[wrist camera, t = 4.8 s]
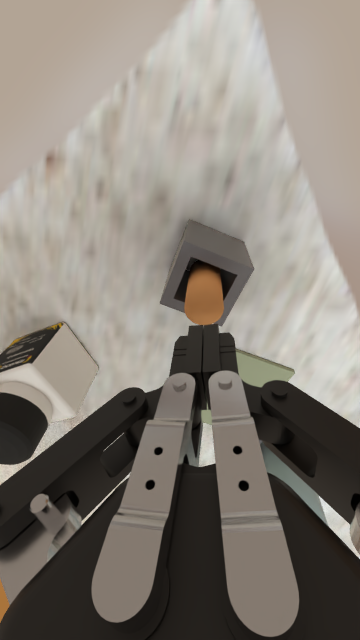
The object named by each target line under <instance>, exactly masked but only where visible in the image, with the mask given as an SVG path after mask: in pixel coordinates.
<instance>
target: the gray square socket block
mask: <svg viewBox="0 0 360 640" xmlns="http://www.w3.org/2000/svg"><path fill="white" fill-rule="evenodd" d="M191 257H194V258H196V259H199V260H201V261H204V262H206V263H209V264H211V265H214V266H216V267H219V268H221V269H220V273H221V283H222V293H223V303H224V311H223V314H222V316H221V318H220V319H219V320H218V321H216V322H215V323H214V324H218V325H219V326H222V325H223V323H224V322H225V320H226V318H227V316H228V314H229V313H230V311H231V309H232V307H233V306H234V304H235V302H236V300H237V299H238V297H239V295H240V293H241V291H242V290H243V288H244V286H245V284H246V283H247V281H248V279H249V277H250V276H251V274H252V272H253V270H254V267H253V264H252V262H251V259H250V256H249V254H248V251H247V248H246V246H245V243H244V242H243V241H241V240H238V239H236V238H233V237H231V236H229V235H226V234H224V233H221V232H219V231H216V230H214V229H212V228H209V227H207V226H204V225H202V224H200V223H197V222H195V221H192V220H190V219H189V221H188V224H187V226H186V229H185V232H184V234H183V237H182V239H181V242H180V245H179V247H178V250H177V252H176V255H175V258H174V260H173V263H172V266H171V268H170V271H169V274H168V277H167V280H166V284H165V287H164V290H163V294H162V297H161V301H160V304H162V305H165V306H168V307H170V308H173V309H176V310H179V311H181V312H184V313H185V310H184V306H185V298H186V291H187V284H188V277H189V271H188V270H186V267H187V265H188V262H189V260H190V258H191Z"/></svg>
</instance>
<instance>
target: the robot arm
mask: <svg viewBox="0 0 360 640" xmlns="http://www.w3.org/2000/svg"><path fill="white" fill-rule="evenodd" d="M207 404H208V410H211V415H212V429H213V440H214V450H215V460H216V464H212V465H208V466H204V467H199V455H200V446H201V437H202V428H203V423H202V417H201V413H202V410H207ZM123 433H124V434H123ZM122 434H123V435H122ZM120 435H121V436H120ZM119 436H120V437H119ZM118 437H119V438H118ZM117 438H118V439H117ZM116 439H117V440H116ZM115 440H116V441H115ZM259 440H262V442H263V443H264V445H265V446H266V447H267V448H268V449H269V450H270V451H271V452H273V453H274V454H275V455H276V456H277V457H278V458H279V459H280V460H281V461H282V462H283V463H284V464H286V465H287V466H288V467H289V468H290V469H291V470H292V471H293V472H294V473H295V474H296V475H297V476H298V477H300V478H301V479H302V480H303V481H304V482H305V483H306V484H307V485H308V486H309V487H310V488H311V489H313V490H314V491H315V492H316V493H317V494H318V495H319V496H320V497H321V498H322V499H323V500H324V501H325V502H327V503H328V504H329V505H330V506H331V507H332V508H333V509H334V510H335V511H336V512H337V513H338V514H339V515H341V516H342V517H343V518H344V519H345V520H346V521H347V522H348V523H349V524H350V536H351V540H352V543H353V545H354V547H355V548H356V550H357V551H358V553H359V554H360V428H358V427H357V426H355V425H354V424H352V423H351V422H349V421H348V420H346V419H345V418H343V417H341V416H340V415H338V414H337V413H335V412H334V411H332V410H331V409H329V408H328V407H326V406H324V405H323V404H321V403H320V402H318V401H317V400H315V399H314V398H312V397H311V396H309V395H307V394H306V393H304V392H303V391H301V390H300V389H298V388H297V387H295V386H294V385H292V384H290V383H288V382H286V381H282V380H272V381H269V382H267V383H265V384H264V385H263V386H262V387H257V386H253V385H250V384H248V383H246V382H244V381H243V380H242V379H241V378H240V376H239V373H238V365H237V357H236V349H235V341H234V338H233V336H232V335H231V334H230V333H219V327H218V324H209V325H204V326H203V325H197V326H189V332H188V336H180V337H179V338H178V340H177V341H176V342H175V346H174V352H173V358H172V363H171V369H170V375H169V378H167V380H166V381H165V383H164V385H163V386H162V387H160V388H159V389H157V390H154V391H151V392H147V393H145V392H144V391H143V390H142V389H140V388H135V387H132V388H127V389H125V390H123V391H121V392H120V393H118V394H117V395H116V396H115V397H113V398H112V399H111V400H109V401H108V402H107V403H106V404H104V405H103V406H102V407H100V408H99V409H98V410H97V411H95V412H94V413H93V414H91V415H90V416H89V417H88V418H86V419H85V420H84V421H82V422H81V423H80V424H78V425H77V426H76V427H75V428H73V429H72V430H71V431H69V432H68V433H67V434H66V435H64V436H63V437H62V438H60V439H59V440H58V441H57V442H55V443H54V444H53V445H51V446H50V447H49V448H48V449H46V450H45V451H44V452H42V453H41V454H40V455H39V456H37V457H36V458H35V459H33V460H32V461H31V462H30V463H28V464H27V465H26V466H24V467H23V468H22V469H21V470H19V471H18V472H17V473H15V474H14V475H13V476H12V477H10V478H9V479H8V480H6V481H5V482H4V483H2V484H1V485H0V579H1V582H2V584H3V587H4V590H5V593H6V596H7V599H8V601H9V604H10V606H9V608H8V610H7V611H6V613H5V615H4V617H3V619H2V621H1V623H0V640H360V559H359V558H358V557H357V556H356V555H355V554H354V553H353V552H352V551H351V550H350V549H349V547H348V546H347V545H346V544H345V543H344V542H343V541H342V540H341V539H340V538H339V537H338V536H337V535H336V534H335V533H334V532H333V531H332V530H331V529H330V528H329V527H328V526H327V524H326V523H325V522H324V521H323V520H322V519H321V518H320V517H319V516H318V515H317V514H316V513H315V512H314V511H313V510H312V509H311V508H310V507H309V506H308V505H307V504H306V503H305V501H304V500H303V499H302V498H301V497H300V496H299V495H298V494H297V493H296V492H295V491H294V490H293V489H292V488H291V487H290V486H289V485H288V484H286V483H285V482H284V481H282V480H281V479H279V478H278V477H276V476H274V475H273V474H271V473H268V472H267V471H266V467H265V463H264V459H263V455H262V451H261V447H260V443H259ZM114 441H115V442H114ZM112 442H114V443H112ZM111 443H112V444H111ZM110 444H111V445H110ZM109 445H110V446H109ZM108 446H109V447H108ZM107 447H108V448H107ZM106 448H107V449H106ZM105 449H106V450H105ZM104 450H105V451H104ZM130 472H131V473H130ZM129 473H130V477H129V478H128V479H126V480H125V481H124V482H123V483H121V484H120V485H119V486H118V487H117V488H116V489H115V490H114V491H113V493H112V494H111V495H110V496H109V497H108V498H107V499H106V500H105V501H104V502H103V503H102V504H101V505H100V506H99V507H98V509H97V510H96V511H95V512H94V513H93V514H92V515H91V516H90V517H89V518H88V519H87V520H86V521H85V522H84V524H83V525H82V526H81V522H82V520H83V519H84V518H85V517H86V516H87V515H88V514H89V513H90V512H91V511H92V510H93V509H94V508H95V507H96V506H97V505H98V504H99V503H100V502H101V501H102V500H103V499H104V498H105V497H106V496H107V495H108V494H109V493H110V492H111V491H112V490H113V489H114V488H115V487H116V486H117V485H118V484H119V483H120V482H121V481H122V480H123V479H124V478H125V477H126V476H127V475H128V474H129Z"/></svg>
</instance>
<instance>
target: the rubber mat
mask: <svg viewBox="0 0 360 640" xmlns="http://www.w3.org/2000/svg"><path fill="white" fill-rule="evenodd" d="M236 357H237V365H238V373H239V376H240V378H241V379H242V380H243V381H244V382H246V383H248V384H250V385H253V386H257V387H262V386H263V385H264V384H265V383H267V382H269V381H272V380H282V381H286V382H288V381H289V379H290V378H291V377H292V376H293V375H294V374H295V372H294V370H293V369H290V368H287V367H285V366H282V365H279V364H276V363H274V362H271V361H268V360H265V359H263V358H260V357H257V356H254V355H251V354H249V353H246V352H243V351H240V350H238V349H236ZM201 417H202V422H204V423H207V424H210V425H212V415H211V410H208V404H207V410H202V413H201Z"/></svg>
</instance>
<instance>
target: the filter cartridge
mask: <svg viewBox="0 0 360 640" xmlns="http://www.w3.org/2000/svg"><path fill="white" fill-rule="evenodd" d="M260 447H261V451H262V455H263V459H264V463H265V467H266V471H267V472H268V473H271V474H273V475H274V476H276V477H278V478H279V479H281V480H282V481H284V482H285V483H286V484H288V485H289V486H290V487H291V488H292V489H293V490H294V491H295V492H296V493H297V494H298V495H299V496H300V497H301V498H302V499H303V500H304V501H305V503H306V504H307V505H308V506H309V507H310V508H311V509H312V510H313V511H314V512H315V513H316V514H317V515H318V516H319V517H320V518H321V519H322V520H323V521H324V522H325V523H326V524H327V521H326V518H325V515H324V511H323V508H322V505H321V502H320V499H319V496H318V494H317V493H316V492H315V491H314V490H313V489H311V488H310V487H309V486H308V485H307V484H306V483H305V482H304V481H303V480H302V479H301V478H300V477H298V476H297V475H296V474H295V473H294V472H293V471H292V470H291V469H290V468H289V467H288V466H287V465H286V464H284V463H283V462H282V461H281V460H280V459H279V458H278V457H277V456H276V455H275V454H274V453H273V452H271V451H270V450H269V449H268V448H267V447H266V446H265V445H264V443H263V442H261V444H260ZM327 526H328V524H327Z"/></svg>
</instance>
